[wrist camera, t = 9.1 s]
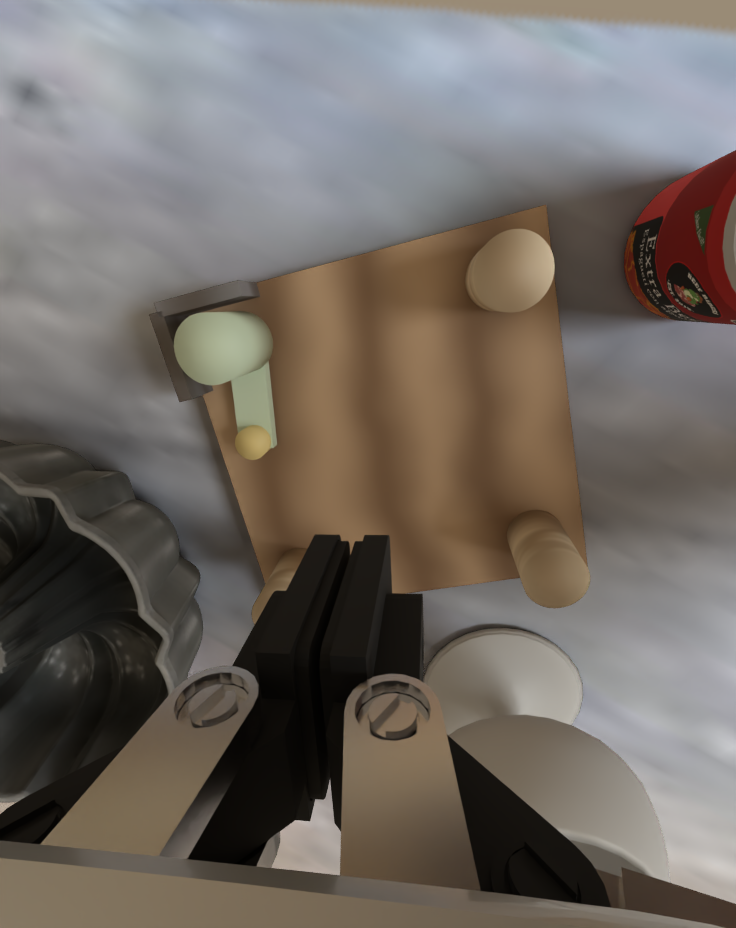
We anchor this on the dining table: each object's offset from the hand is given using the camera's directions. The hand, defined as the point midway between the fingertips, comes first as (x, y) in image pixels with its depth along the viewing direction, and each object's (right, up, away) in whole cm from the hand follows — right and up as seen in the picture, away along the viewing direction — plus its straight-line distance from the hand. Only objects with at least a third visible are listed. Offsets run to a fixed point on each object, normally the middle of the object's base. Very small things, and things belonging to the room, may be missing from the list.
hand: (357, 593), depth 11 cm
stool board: (+2, +5, +22) cm, 22 cm away
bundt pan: (-23, -6, +28) cm, 37 cm away
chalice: (+11, -15, +27) cm, 33 cm away
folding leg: (-7, +8, +19) cm, 22 cm away
